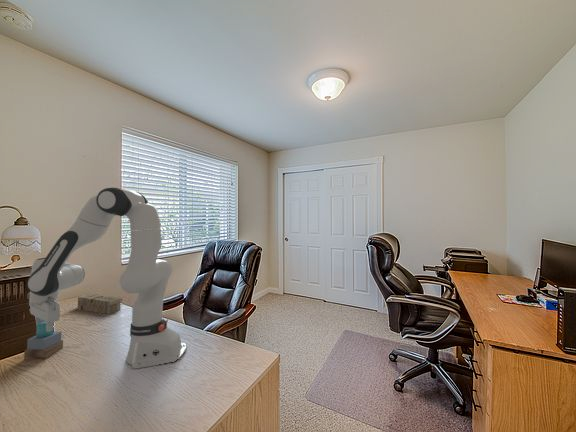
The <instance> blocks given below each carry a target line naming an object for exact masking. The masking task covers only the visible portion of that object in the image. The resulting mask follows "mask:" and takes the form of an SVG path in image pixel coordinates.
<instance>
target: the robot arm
mask: <svg viewBox="0 0 576 432" xmlns="http://www.w3.org/2000/svg"><path fill="white" fill-rule="evenodd" d="M97 193H98V194H96V195H94V196H92V197H90V198H89V199H88V200H87V202H86V203H85V204H84V206H83V207H82V209H81V210H80V212H79V214H78V216H77V217H76V219H75V221H74V222H73V224H72V225H71V226H70V227H69V229H67V231H66V232H64V233H63V234H62V235H60V237H59V238H58V239H57V240H56V242H55V243H54V245H53V246H52V248H51V249H50V250H49V252H48V254H47V255H46V257H41V258H37V259H35V260H34V261H33V263H32V266H31V270H30V275H29V277H28V279H27V281H26V287H27V289H28V290H29V292H28V293H27V299H28V307H29V306H30V309H29V312H30V315H31V316H34V318H35V324H36V327H37V324H38V323H41V322H46V327H45V331H46V332H49V331H51V330H52V326H53V324H54V323H55V322H58V321H59V320H60V318H61V308H60V307H61V305H60V302H59V301H57V299H59V298H60V297H61V291H62V290H65V289H68V288H72V287H75V286H77V285H79V284H81V283H82V282H83V281H84V279H85V275H86V274H85V273H86V272H85V270H84V268H83V267H82V266H81V265H79V264H77V263H71V262H68V260H69V258H70V256H72V255H73V253H74V252H75V251H77V250H78V249H80V248H82V247H84V246H86V245H88V244H91V243H94V242H96V241H99V240H100V239H101V238H102V237H103V236H104V235H105V234H106V233H107V231H108V230H109V228H110V225H111V223H112V222H113V221H112V220H113V219H114V217H115V216H118V217H123V216H125V217H126V218H127V219H128V220H129V227H130V254H129V258H128V262H127V265H126V267H125V270H124V271H123V272H122V273H121V274H120V277H119V286H120V288H121V289H122V291H124V292H125V293H127V294H131V295H132V294H133V295H134V294H137V296H136V298H135V300H134V301H133V303H132V310H131V312H132V314H131V315H132V316H131V323H130V328H129V331H130V332H129V336H130V341H129V347H128V348H129V349H128V352H127V355H126V358H125V362H126V363H127V364H129V365H131V368H132V369H141V368H149V367H154V366H160V365H159V364H161V365H165V364H164V363H168V364H170V363H169V362H173V361H176V360H177V359H179V358H180V357H181V356H182V355H183V353H184V352H186V351H187V344H186V343H185V342H182V339H181V336H180V334H179V333H178V332H176V331H174V330H173V329H172V328H170V327H168V322H169V319H166V320H165V319H164V317H163V311H164V310H163V308H164V297H165V293H166V289H167V287H168V286H167V285H168V282H169V280H170V277H171V276H172V273H173V266H172V264H171V262H170V261H167V260H165V259H158V255H159V252H160V250H161V248H162V244H163V243H162V231H161V230H162V229H161V220H160V216H159V215H160V214H159V212H158V209H157V207H156V206H155V205H153V204H150V203H149V201H148V198H147V197H146V196H145V195H144V194H142V193H140V192H137V191H133V190H130V189H126V188H119V187H105V188H103V189H102V190H100V191H99V192H97ZM183 346H184V347H183ZM185 350H186V351H185ZM184 354H185V353H184ZM183 356H184V355H183ZM183 356H182V357H183ZM182 357H181V358H182ZM181 358H180V359H181ZM180 359H179V360H180ZM177 361H178V360H177ZM177 361H176V362H177Z"/></svg>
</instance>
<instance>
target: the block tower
mask: <svg viewBox="0 0 576 432" xmlns="http://www.w3.org/2000/svg"><path fill="white" fill-rule="evenodd" d="M122 302H123V297H120V296H112V295H111V296H110V295H106V296H104V295H103V294H96V293H91V292H90V293H85V294H81V295H80V296H78V297H77V310H83V311H87V312H89V311H90V312H95V313H100V314H106V315H109V314H112V313H115V312H117V311H120V310H121V303H122Z"/></svg>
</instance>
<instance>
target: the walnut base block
mask: <svg viewBox="0 0 576 432" xmlns="http://www.w3.org/2000/svg"><path fill="white" fill-rule="evenodd" d="M63 349H64V340H63V339H61V341H60V342H58V343H56V344H54V345H52V346H50V347H48V348H47V349H45V350H33V349H27V348H26V349H24V354H23V360H24V361H33V360H35V361H36V360H47V359H49V358H51V357H52V356H54V355H55V354H56V353H58V352H60V351H61V350H63Z"/></svg>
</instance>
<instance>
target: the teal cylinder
mask: <svg viewBox="0 0 576 432" xmlns="http://www.w3.org/2000/svg"><path fill="white" fill-rule="evenodd" d="M45 327H46V322H45V321H43V322H41V323H38V324H37V326H36V331H35V333H36V335H35V336H36V338H43V337H47V336H50V335H52V334H53V332H54V324H53V326H52V330H51V331H49V332H46V331H45Z"/></svg>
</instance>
